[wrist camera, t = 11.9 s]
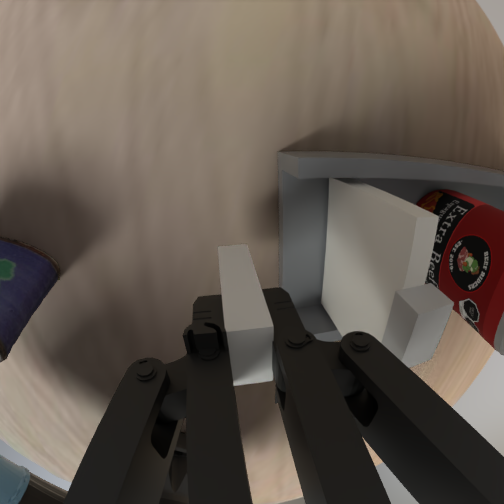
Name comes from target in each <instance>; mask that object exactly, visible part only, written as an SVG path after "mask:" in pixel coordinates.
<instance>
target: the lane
mask: <svg viewBox="0 0 504 504" xmlns="http://www.w3.org/2000/svg"><path fill="white" fill-rule="evenodd" d="M329 178H353V179H355V180H358V181H360V182H363V183H365V184H368V185H370V186H373V187H375V188H378V189H380V190H382V191H385V192H387V193H389V194H392V195H394V196H396V197H399V198H401V199H403V200H405V201H408V202H410V203H412V204H414V205H416V204H417V203H418V202H419V200H420V199H421V198H422V197H424V196H425V195H426V194H428V193H430V192H432V191H434V190H443V189H449V190H454V191H457V192H459V193H462V194H464V195H467V196H469V197H472V198H474V199H477V200H479V201H482V202H484V203H486V204H489V205H491V206H493V207H495V208H498V209H500V210H502V211H504V171H501V170H496V169H491V168H486V167H481V166H476V165H470V164H464V163H458V162H452V161H445V160H438V159H430V158H421V157H412V156H402V155H391V154H377V153H360V152H334V151H281V152H278V195H279V287H281V288H283V289H284V290H285V291H286V292H288V293H289V295H290V297H291V299H292V302H293V304H294V306H295V308H296V310H297V312H298V315H299V317H300V319H301V321H302V323H303V325H304V328H305V330H307V331H309V332H311V333H312V334H313V335H314V336H315V337H316V339H318V340H321V341H327V342H334V341H338V340H342V338H343V337H342V336H341V334H340V332H339V331H338V329H337V327H336V326H335V324H334V323H333V321H332V319H331V318H330V316H329V315H328V313H327V311H326V310H325V308H324V307H323V305H322V303H321V299H322V289H323V278H324V266H325V253H326V239H327V222H328V199H329Z"/></svg>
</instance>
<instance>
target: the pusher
mask: <svg viewBox="0 0 504 504" xmlns="http://www.w3.org/2000/svg"><path fill="white" fill-rule="evenodd" d="M438 219H439V216H437V215H435V214H433V213H431V212H429V211H427V210H425V209H423V208H420V207H418V206H416V205H414V204H412V203H410V202H408V201H405V200H403V199H401V198H399V197H396V196H394V195H392V194H389V193H387V192H385V191H382V190H380V189H378V188H375V187H373V186H370V185H368V184H365V183H363V182H360V181H358V180H355V179H353V178H329V199H328V222H327V239H326V253H325V266H324V278H323V289H322V299H321V303H322V305H323V307H324V308H325V310H326V311H327V313H328V315H329V316H330V318H331V319H332V321H333V323H334V324H335V326H336V327H337V329H338V331H339V332H340V334H341V336H342V337H343V336H344V335H346V334H347V333H350V332H354V331H362V332H366V333H369V334H371V335H372V336H374V337H375V338H376V339H377V340H378V341H379V342H381V343H382V344H383V345H384V346H385V347H386V348H387V349H388V350H390V351H391V352H392V353H393V354H394V355H395V356H396V357H397V358H398V359H399V360H401V361H402V362H403V363H404V364H405V365H406V366H407V367H408V368H410V367H413V366H416V365H418V364H421V363H423V362H426V361H428V360H430V359H431V358H432V356H433V354H434V352H435V350H436V348H437V345H438V343H439V341H440V338H441V336H442V334H443V331H444V329H445V326H446V324H447V321H448V319H449V316H450V313H451V311H452V308H453V305H454V302H453V301H452V300H450V299H449V298H448V297H447V296H446V295H445V294H443V293H442V292H441V291H440V290H439V289H438V288H436V287H435V286H434V285H433V284H432V283H429V284H425V281H426V277H427V273H428V269H429V265H430V260H431V256H432V251H433V246H434V241H435V236H436V231H437V225H438Z"/></svg>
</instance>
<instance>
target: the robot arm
mask: <svg viewBox="0 0 504 504" xmlns="http://www.w3.org/2000/svg"><path fill="white" fill-rule="evenodd" d="M218 259H219V271H220V283H221V294H222V295H212V296H202V297H198V298H197V300H196V301H195V302H194V304H193V320H192V324H191V325H189V326H188V327H187V328H186V329H185V330H184V333H183V338H184V342H185V346H186V350H187V354H186V355H185V356H184V357H183V358H181V359H179V360H177V361H175V362H171V363H168V364H165V365H164V364H163V363H162V362H161V361H160V360H158V359H155V358H144V359H140V360H138V361H136V362H134V363H133V364H132V365H131V366H130V367H129V368H128V370H127V372H126V373H125V375H124V377H123V379H122V381H121V383H120V385H119V387H118V388H117V390H116V392H115V394H114V396H113V398H112V400H111V402H110V404H109V406H108V408H107V410H106V412H105V414H104V416H103V418H102V420H101V422H100V424H99V426H98V428H97V430H96V432H95V434H94V436H93V438H92V440H91V442H90V444H89V446H88V448H87V451H86V453H85V455H84V457H83V459H82V461H81V463H80V466H79V468H78V470H77V472H76V475H75V477H74V479H73V481H72V484H71V486H70V488H69V491H66V490H64V489H62V488H59V487H57V486H55V485H53V484H51V483H49V482H47V481H45V480H43V479H41V478H40V477H38V476H36V475H34V474H32V473H31V472H29V470H28V469H27V468H25V467H23V466H18V465H16V464H15V463H13V462H11V461H10V460H8V459H6V458H5V457H3V456H1V455H0V504H253V503H252V497H251V492H250V486H249V481H248V475H247V469H246V463H245V457H244V451H243V445H242V438H241V432H240V425H239V419H238V412H237V405H236V398H235V391H234V386H236V385H245V384H253V383H260V382H267V381H273V375H274V379H275V382H276V389H275V403H279V407H280V411H281V415H282V419H283V422H284V426H285V430H286V434H287V437H288V441H289V445H290V448H291V452H292V456H293V459H294V463H295V467H296V470H297V474H298V478H299V481H300V485H301V489H302V492H303V496H304V499H305V503H306V504H391V502H390V500H389V498H388V495H387V493H386V490H385V488H384V486H383V483H382V481H381V479H380V477H379V474H378V472H377V470H376V467H375V465H374V463H373V461H372V458H371V456H370V454H369V452H368V449H367V447H366V445H365V443H364V440H363V438H364V439H365V440H366V442H367V443H368V444H369V445H370V447H371V448H372V449H373V450H374V451H375V453H376V454H377V455H378V456H379V457H380V459H381V460H382V461H383V462H384V463H385V464H386V466H387V467H388V468H389V469H390V470H391V472H393V474H394V475H395V476H396V477H397V478H398V480H399V481H400V482H401V483H402V484H403V486H404V487H405V488H406V489H407V490H408V491H409V492H410V494H411V495H412V496H413V497H414V498H415V499H416V500H417V502H418V503H419V504H504V457H503V456H502V455H501V454H500V453H499V452H498V451H497V450H496V449H495V448H494V447H493V446H492V445H491V444H490V443H489V442H487V440H486V439H485V438H483V437H482V436H481V435H480V434H479V433H478V432H477V431H476V430H475V429H474V428H473V427H472V426H471V425H470V424H469V423H468V422H467V421H466V420H465V419H463V418H462V417H461V416H460V415H459V414H458V413H457V412H456V411H455V410H454V409H453V408H452V407H451V406H450V405H449V404H447V403H446V402H445V401H444V400H443V399H442V398H441V397H440V396H439V395H438V394H437V393H436V392H435V391H433V390H432V389H431V388H430V387H429V386H428V385H427V384H426V383H425V382H424V381H423V380H421V379H420V378H419V377H418V376H417V375H416V374H415V373H414V372H413V371H412V370H411V369H409V368H408V367H407V366H406V365H405V364H404V363H403V362H402V361H401V360H399V359H398V358H397V357H396V356H395V355H394V354H393V353H392V352H391V351H390V350H388V349H387V348H386V347H385V346H384V345H383V344H382V343H381V342H379V341H378V340H377V339H376V338H375V337H374V336H372V335H371V334H369V333H366V332H362V331H354V332H350V333H347V334H346V335H344V336H343V338H342V340H341V342H327V341H321V340H318V339H316V337H315V336H314V335H313V334H312V333H311V332H309V331H307V330H305V328H304V325H303V323H302V321H301V319H300V317H299V315H298V312H297V310H296V308H295V306H294V304H293V302H292V299H291V297H290V295H289V293H288V292H286V291H285V290H284V289H283V288H281V287H279V288H270V289H261V286H260V283H259V279H258V276H257V273H256V270H255V267H254V264H253V261H252V258H251V255H250V252H249V249H248V246H247V244H238V245H228V246H218ZM184 418H186V434H184V433H181V432H180V430H181V427H182V424H183V421H184ZM362 437H363V438H362Z"/></svg>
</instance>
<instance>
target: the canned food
mask: <svg viewBox="0 0 504 504" xmlns="http://www.w3.org/2000/svg"><path fill="white" fill-rule="evenodd" d="M416 206H418V207H420V208H423V209H425V210H427V211H429V212H431V213H433V214H435V215H437V216H439V219H438V225H437V231H436V236H435V241H434V246H433V251H432V256H431V260H430V265H429V269H428V273H427V277H426V281H425V284H429V283H432V284H433V285H434V286H435V287H436V288H438V289H439V290H440V291H441V292H442V293H443V294H445V295H446V296H447V297H448V298H449V299H450V300H452V301H453V302H454V305H453V309H454V310H455V311H456V312H457V313H458V314H459V315H460V316H461V317H462V318H463V319H464V320H465V321H466V322H467V323H469V324H470V325H471V326H472V327H473V328H474V329H475V330H476V331H477V332H478V333H479V334H480V335H481V336H482V337H483V338H484V339H485V340H486V341H487V342H488V343H489V344H490V345H491V346H492V347H493V348H494V349H495V350H496V351H498V352H499V353H500V354H501V355H504V211H502V210H500V209H498V208H495V207H493V206H491V205H489V204H486V203H484V202H482V201H479V200H477V199H474V198H472V197H469V196H467V195H464V194H462V193H459V192H457V191H454V190H449V189H443V190H434V191H432V192H430V193H428V194H426V195H425V196H424V197H422V198H421V199H420V200H419V202H418V203H417V204H416Z"/></svg>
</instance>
